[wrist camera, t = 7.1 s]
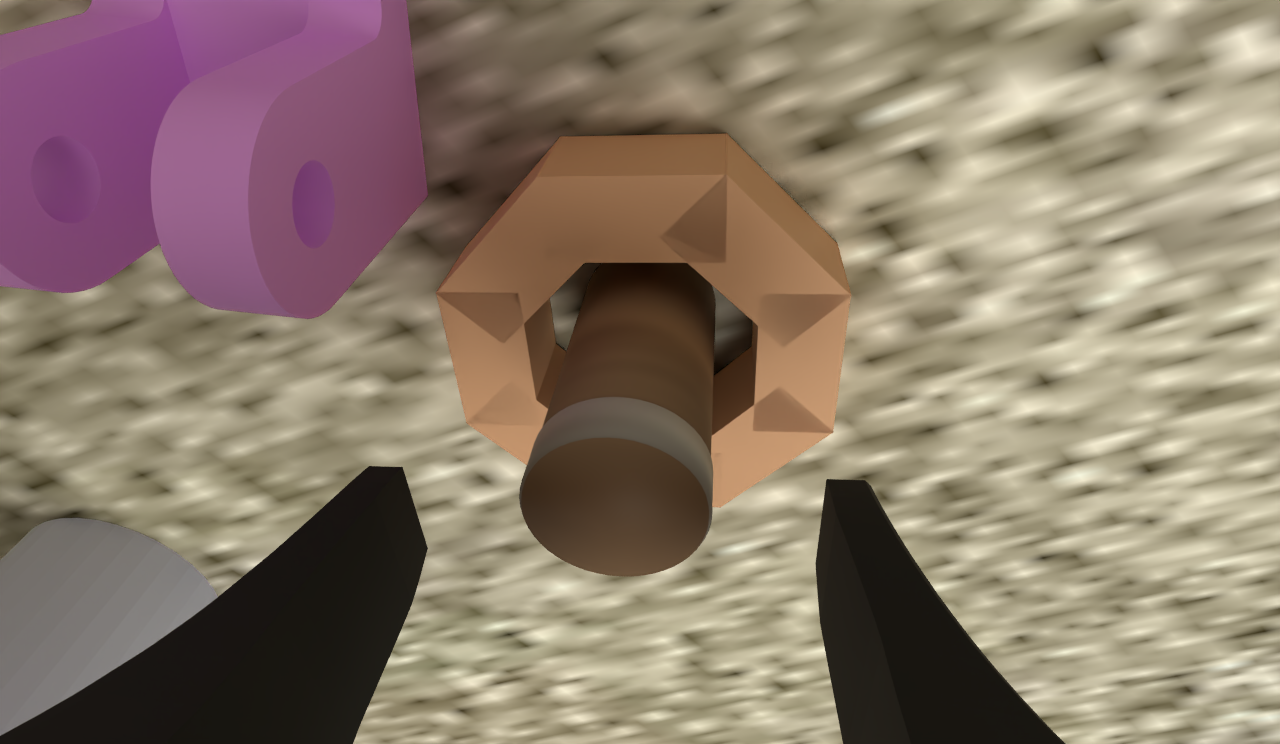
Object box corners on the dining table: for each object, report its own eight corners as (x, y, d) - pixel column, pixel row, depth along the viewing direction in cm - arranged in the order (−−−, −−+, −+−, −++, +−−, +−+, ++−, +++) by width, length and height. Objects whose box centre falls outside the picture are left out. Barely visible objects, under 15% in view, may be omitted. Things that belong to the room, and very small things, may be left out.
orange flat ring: (814, 447, 20) (823, 511, 18) (506, 439, 21) (484, 499, 19) (849, 130, 15) (867, 172, 13) (447, 137, 16) (408, 177, 14)
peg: (717, 361, 19) (711, 582, 13) (589, 360, 19) (532, 574, 14) (718, 244, 17) (712, 442, 11) (577, 244, 17) (504, 436, 12)
